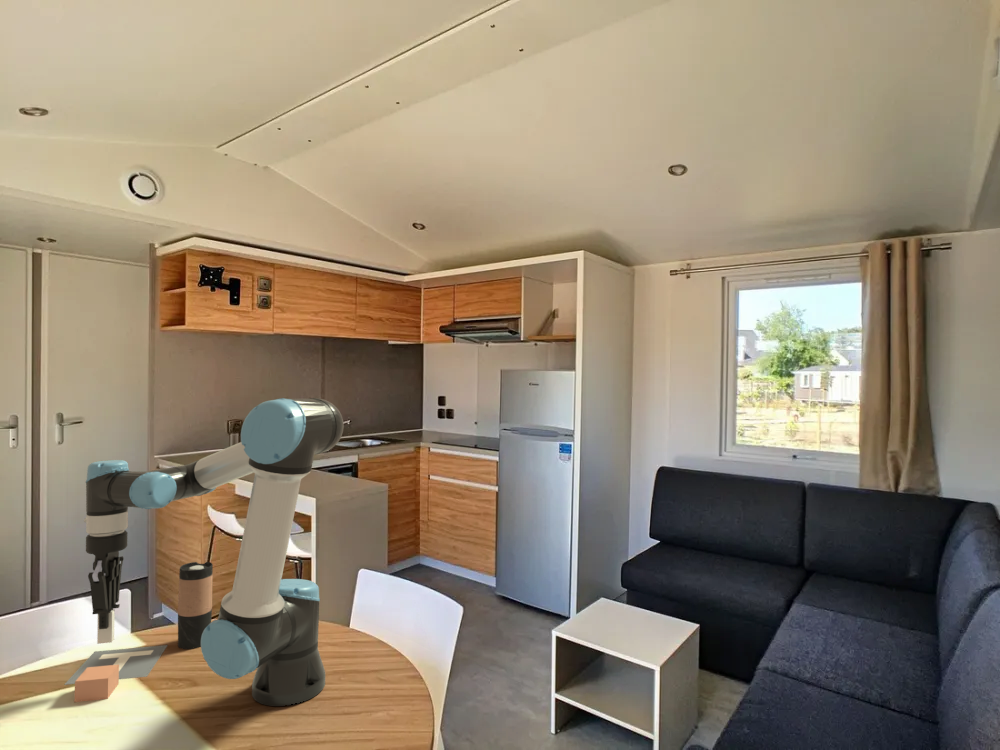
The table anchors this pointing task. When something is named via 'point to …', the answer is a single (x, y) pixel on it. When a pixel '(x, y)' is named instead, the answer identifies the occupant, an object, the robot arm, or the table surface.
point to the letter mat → (124, 661)
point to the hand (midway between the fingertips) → (105, 641)
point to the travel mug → (194, 603)
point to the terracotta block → (96, 683)
